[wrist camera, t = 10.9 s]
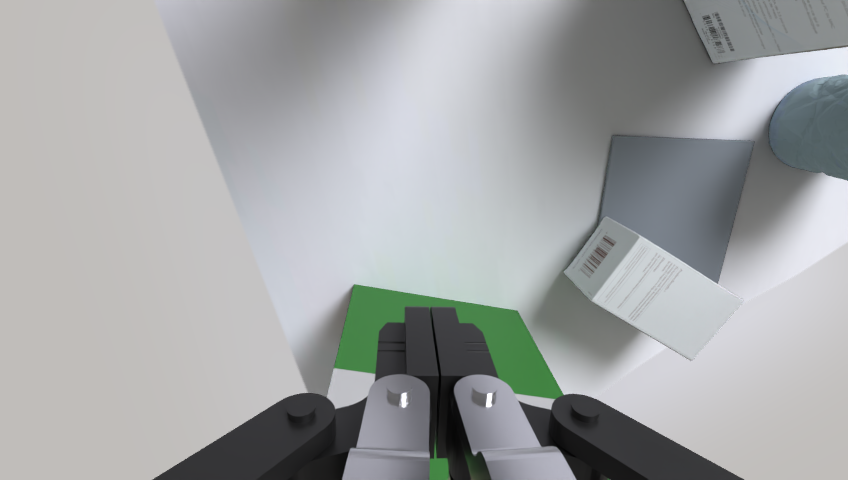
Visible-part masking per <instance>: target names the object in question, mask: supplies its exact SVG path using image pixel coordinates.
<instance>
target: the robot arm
mask: <svg viewBox="0 0 848 480" xmlns="http://www.w3.org/2000/svg"><path fill="white" fill-rule="evenodd" d="M435 446H436V456H437V458H447V459H448V467H449V468H448V480H608V479H610V480H744V479H742V478H740V477H738V476H736V475H735V474H733V473H731V472H729V471H727V470H726V469H724V468H722V467H720V466H718V465H716V464H714V463H713V462H711V461H709V460H707V459H705V458H703V457H702V456H700V455H698V454H696V453H694V452H692V451H691V450H689V449H687V448H685V447H683V446H681V445H680V444H678V443H676V442H674V441H672V440H670V439H669V438H667V437H665V436H663V435H661V434H659V433H658V432H656V431H654V430H652V429H650V428H648V427H647V426H645V425H643V424H641V423H639V422H637V421H636V420H634V419H632V418H630V417H628V416H626V415H625V414H623V413H621V412H619V411H617V410H615V409H614V408H612V407H610V406H608V405H606V404H604V403H602V402H601V401H599V400H597V399H594V398H592V397H588V396H585V395H579V394H567V395H563V396H560V397H558V398H556V399H555V400H554V402H553V403H552V407H551V410H550V409H546V408H541V407H537V406H532V405H528V404H526V403H523V402H520V401H518V400H517V398H516V396H515V394H514V392H513V390H512V389H511V387H510V386H509V385H508V384H507V383H505V382H504V381H502V380H500V379H499V377H498V374H497V372H496V369H495V366H494V363H493V360H492V357H491V354H490V353H489V349H488V346H487V344H486V340H485V337H484V335H483V332H482V331H481V330H480V329H479V328H477V327H476V326H475V325H474V324H473V323H459V320H458V316H457V313H456V309H455V307H430V310H429V307H424V306H405V315H404V323H400V322H387V323H386V324H385V325H384V326H383V327H382V328H381V330H380V331H379V337H378V349H377V360H376V371H375V382H374V383H373V384H372V386H371V387H370V390H369V393H368V396H367V397H366V398H364V399H363V400H361V401H359V402H357V403H355V404H352V405H349V406H345V407H341V408H337V409H335V406H334V404H333V403H332V402H331V400H329V399H328V398H327V397H325V396H322V395H319V394H314V393H302V394H297V395H293V396H289V397H287V398H285V399H283V400H281V401H279V402H278V403H276V404H274V405H273V406H271V407H269V408H268V409H266V410H265V411H263V412H261V413H260V414H258V415H257V416H255V417H253V418H252V419H250V420H248V421H247V422H245V423H244V424H242V425H240V426H239V427H237V428H235V429H234V430H232V431H231V432H229V433H227V434H226V435H224V436H223V437H221V438H219V439H218V440H216V441H214V442H213V443H211V444H209V445H208V446H206V447H205V448H203V449H201V450H200V451H199V452H197V453H195V454H193V455H192V456H190V457H188V458H187V459H185V460H184V461H182V462H180V463H179V464H177V465H175V466H174V467H172V468H171V469H169V470H167V471H166V472H164V473H162V474H161V475H159V476H158V477H156V478H154V479H153V480H429V475H430V459H434V450H435Z"/></svg>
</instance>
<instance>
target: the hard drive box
mask: <svg viewBox="0 0 848 480" xmlns="http://www.w3.org/2000/svg"><path fill="white" fill-rule="evenodd" d="M684 2H685V5H686V7H687V9H688V11H689V13H690V15H691V17H692V21H693V23H694V25H695V27H696V29H697V32H698V34H699V36H700V38H701V39H702V41H703V43H704V45H705V47H706V50H707V52H708V54H709V56H710V58H711V60H712V62H713V63H724V62H730V61H737V60H744V59H751V58H759V57H769V56H776V55H784V54H793V53H801V52H810V51H817V50H827V49H833V48H842V47H848V0H684Z"/></svg>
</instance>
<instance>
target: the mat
mask: <svg viewBox="0 0 848 480" xmlns="http://www.w3.org/2000/svg"><path fill="white" fill-rule="evenodd" d="M754 142H755V141H745V140H717V139H690V138H663V137H636V136H612V142H611V148H610V154H609V160H608V167H607V173H606V179H605V185H604V191H603V197H602V203H601V209H600V216H599V222H598V226H599V225H600V223H601V221H602V220H603V218H604V217H605V216H607V217H609V218H611V219H612V220H614V221H616V222H618V223H620V224H621V225H623V226H625V227H627V228H628V229H630V230H632V231H634V232H636V233H637V234H639V235H641V236H642V237H644V238H645V239H647V240H649V241H650V242H652V243H653V244H655V245H657V246H658V247H660V248H662V249H663V250H665V251H666V252H668V253H670V254H671V255H673V256H674V257H676V258H678V259H679V260H681V261H682V262H684V263H685V264H687V265H689V266H690V267H692V268H693V269H695V270H696V271H698V272H699V273H701V274H703V275H704V276H706V277H707V278H709V279H710V280H712V281H713V282H715V283H717V284H718V281H719V277H720V273H721V269H722V266H723V262H724V258H725V254H726V250H727V246H728V242H729V239H730V235H731V231H732V227H733V223H734V219H735V215H736V211H737V208H738V204H739V200H740V196H741V192H742V188H743V184H744V180H745V177H746V173H747V169H748V165H749V161H750V157H751V153H752V150H753V146H754Z"/></svg>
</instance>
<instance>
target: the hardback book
mask: <svg viewBox="0 0 848 480" xmlns="http://www.w3.org/2000/svg"><path fill="white" fill-rule="evenodd" d="M405 306H424V307H429V310H430V307H455V309H456V313H457V316H458V320H459V323H473V324H474V325H475V326H476V327H477V328H479V329H480V330H481V331H482V332H483V335H484V337H485V340H486V344H487V346H488V349H489V353H490V354H491V357H492V360H493V363H494V366H495V369H496V372H497V374H498V377H499V379H500V380H502V381H504V382H505V383H507V384H508V385H509V386H510V387H511V389H512V390H513V392H514V394H515V396H516V398H517V400H518V401H520V402H523V403H526V404H528V405H532V406H537V407H541V408H546V409H550V410H551V407H552V403H553V402H554V400H555V399H556V398H558V397H560V396H563V393H562V391H561V389H560V388H559V386H558V384H557V382H556V380H555V378H554V377H553V375H552V373H551V371H550V369H549V368H548V366H547V364H546V362H545V360H544V358H543V357H542V355H541V353H540V351H539V349H538V348H537V346H536V344H535V342H534V340H533V338H532V337H531V335H530V333H529V331H528V329H527V328H526V326H525V324H524V322H523V320H522V318H521V317H520V315H519V313H518V311H515V310H509V309H503V308H497V307H491V306H484V305H478V304H472V303H466V302H460V301H454V300H447V299H441V298H435V297H429V296H423V295H416V294H410V293H404V292H398V291H392V290H386V289H379V288H373V287H367V286H361V285H355V284H354V287H353V292H352V296H351V300H350V304H349V308H348V312H347V316H346V320H345V324H344V328H343V333H342V337H341V341H340V345H339V349H338V353H337V357H336V361H335V365H334V369H333V374H332V378H331V382H330V386H329V390H328V394H327V398H328V399H329V400H331V402H332V403H333V404H334V406H335V409H337V408H341V407H345V406H349V405H352V404H355V403H357V402H359V401H361V400H363V399H364V398H366V397H367V396H368V393H369V390H370V387H371V386H372V384H373V383H374V382H375V371H376V360H377V349H378V337H379V331H380V330H381V328H382V327H383V326H384V325H385V324H386V323H387V322H400V323H404V315H405ZM448 468H449V467H448V459H447V458H437V456H436V446H435V450H434V459H430V475H429V480H448ZM608 480H610V479H608Z"/></svg>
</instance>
